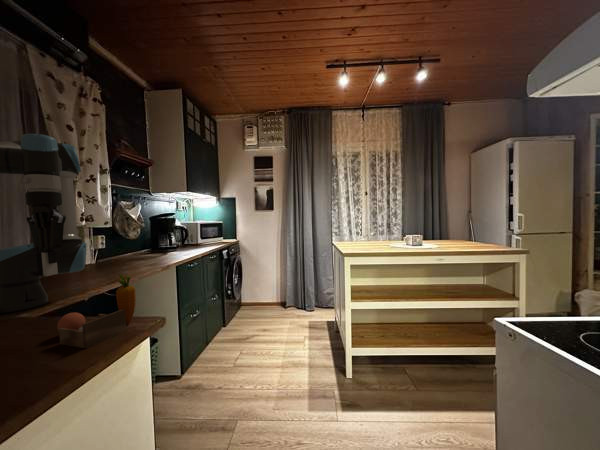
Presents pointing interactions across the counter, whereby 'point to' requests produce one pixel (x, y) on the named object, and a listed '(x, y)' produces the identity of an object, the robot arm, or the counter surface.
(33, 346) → the counter surface
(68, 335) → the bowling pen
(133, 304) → the carrot
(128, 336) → the counter surface
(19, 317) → the counter surface
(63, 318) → the ball
